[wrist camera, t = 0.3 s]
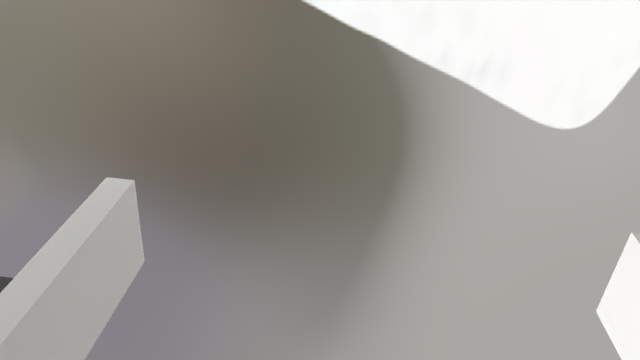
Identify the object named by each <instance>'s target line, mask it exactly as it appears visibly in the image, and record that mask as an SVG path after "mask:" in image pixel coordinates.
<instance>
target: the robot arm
mask: <svg viewBox="0 0 640 360" xmlns="http://www.w3.org/2000/svg"><path fill="white" fill-rule="evenodd" d="M141 238H142V237H141V229H140V222H139V213H138V206H137V197H136V189H135V182H134V180H126V179H116V178H106V179H105V180H104V181H103V182H102V183H101V184H100V185H99V186H98V187H97V188H96V189H95V191H94V192H93V193H92V194H91V195H90V196H89V197H88V198H87V199H86V200H85V202H84V203H83V204H82V205H81V206H80V207H79V208H78V209H77V210H76V211H75V212H74V214H73V215H72V216H71V217H70V218H69V219H68V220H67V221H66V222H65V223H64V224H63V226H61V228H60V229H59V230H58V231H57V232H56V233H55V234H54V235H53V236H52V237H51V239H50V240H49V241H48V242H47V243H46V244H45V245H44V246H43V247H42V248H41V249H40V250H39V252H38V253H37V254H36V255H35V256H34V257H33V258H32V259H31V260H30V261H29V262H28V264H26V266H25V267H24V268H23V269H22V270H21V271H20V272H19V273H18V274H17V275H16V277H15V278H7V277H0V360H85V358H86V356H87V355H88V353H89V351H90V350H91V348H92V347H93V345H94V343H95V342H96V340H97V338H98V337H99V335H100V333H101V332H102V330H103V329H104V327H105V325H106V324H107V322H108V320H109V319H110V317H111V315H112V314H113V312H114V310H115V309H116V307H117V305H118V304H119V302H120V301H121V299H122V297H123V296H124V294H125V292H126V291H127V289H128V288H129V286H130V284H131V283H132V281H133V279H134V278H135V276H136V274H137V273H138V271H139V269H140V268H141V266H142V265H143V263H144V254H143V245H142V239H141ZM596 312H597V314H598V316H599V318H600V320H601V322H602V324H603V325H604V327H605V329H606V331H607V333H608V335H609V336H610V339H611V340H612V342H613V344H614V346H615V348H616V350H617V352H618V353H619V355H620V357H621V359H622V360H640V233H631V235H630V237H629V239H628V241H627V244H626V246H625V248H624V250H623V253H622V255H621V257H620V259H619V261H618V264H617V266H616V268H615V270H614V273H613V275H612V277H611V279H610V282H609V284H608V286H607V288H606V290H605V293H604V295H603V297H602V300H601V302H600V304H599V306H598V308H597V310H596Z"/></svg>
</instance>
